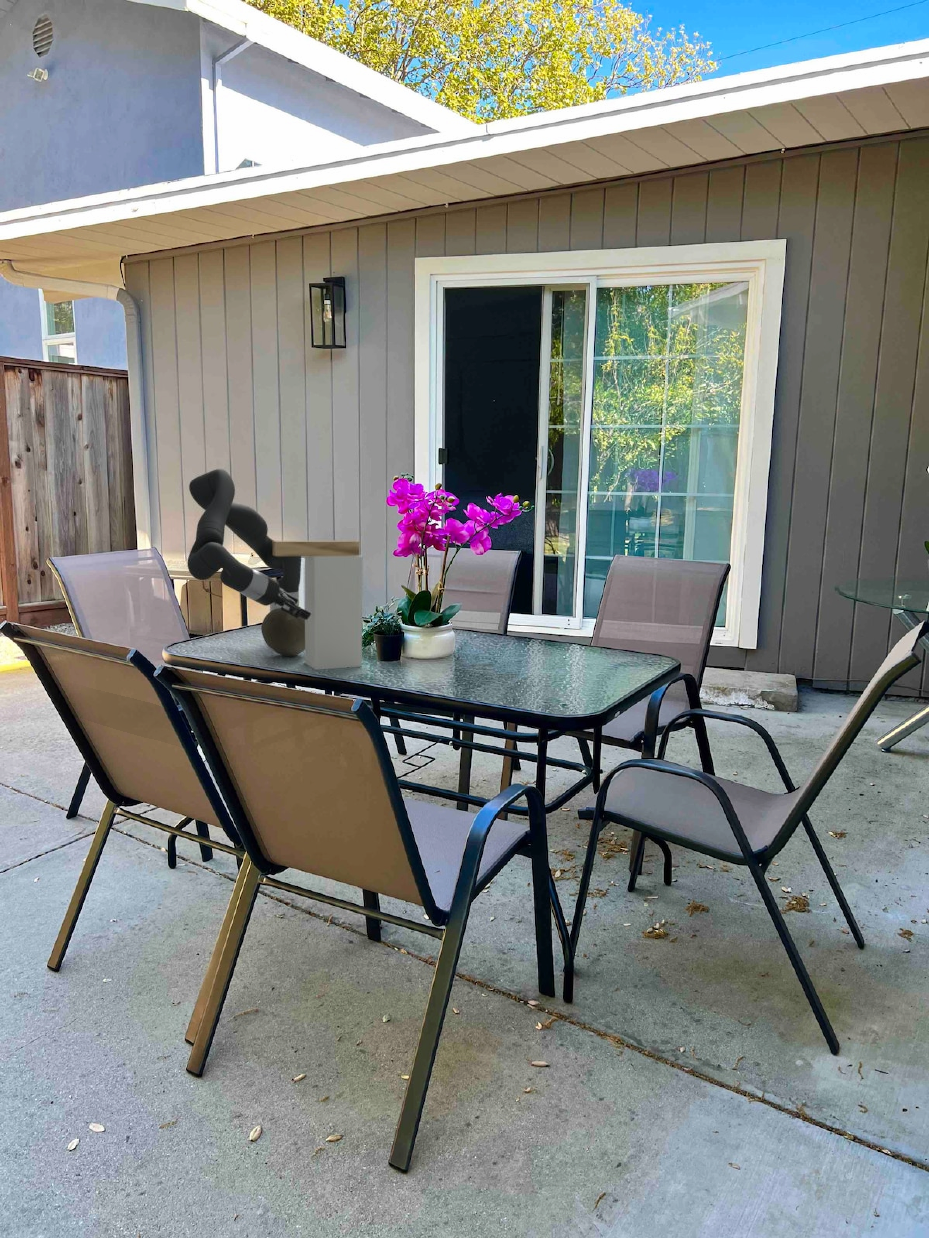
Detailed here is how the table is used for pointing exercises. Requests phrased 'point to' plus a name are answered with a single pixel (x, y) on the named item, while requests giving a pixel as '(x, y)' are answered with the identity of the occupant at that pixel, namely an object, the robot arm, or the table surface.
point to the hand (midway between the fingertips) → (302, 609)
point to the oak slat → (315, 548)
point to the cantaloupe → (284, 632)
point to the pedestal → (333, 611)
